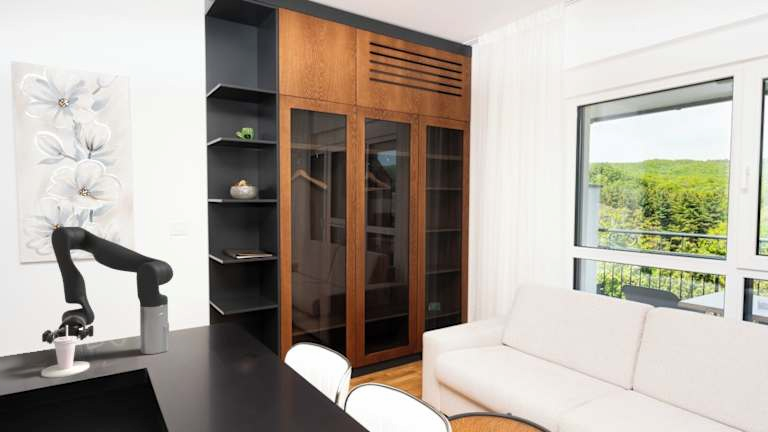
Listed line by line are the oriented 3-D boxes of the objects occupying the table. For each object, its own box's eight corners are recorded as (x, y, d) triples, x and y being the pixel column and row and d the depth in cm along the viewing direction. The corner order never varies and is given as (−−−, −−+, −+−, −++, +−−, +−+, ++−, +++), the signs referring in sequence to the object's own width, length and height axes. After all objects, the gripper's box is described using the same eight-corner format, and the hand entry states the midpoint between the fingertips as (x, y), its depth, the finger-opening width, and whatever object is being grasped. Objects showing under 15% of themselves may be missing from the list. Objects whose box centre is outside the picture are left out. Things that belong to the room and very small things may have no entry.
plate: (94, 361, 157) (94, 359, 157) (82, 375, 145) (82, 372, 145) (50, 365, 153) (50, 363, 153) (34, 379, 141) (34, 377, 141)
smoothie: (68, 371, 146) (67, 327, 146) (48, 371, 146) (48, 327, 146) (81, 364, 152) (81, 322, 152) (63, 364, 152) (62, 322, 152)
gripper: (48, 319, 160) (39, 330, 146) (95, 314, 167) (91, 324, 153) (48, 340, 160) (39, 353, 146) (96, 335, 167) (91, 347, 153)
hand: (66, 338), depth 149 cm, fingers open, 8 cm apart
